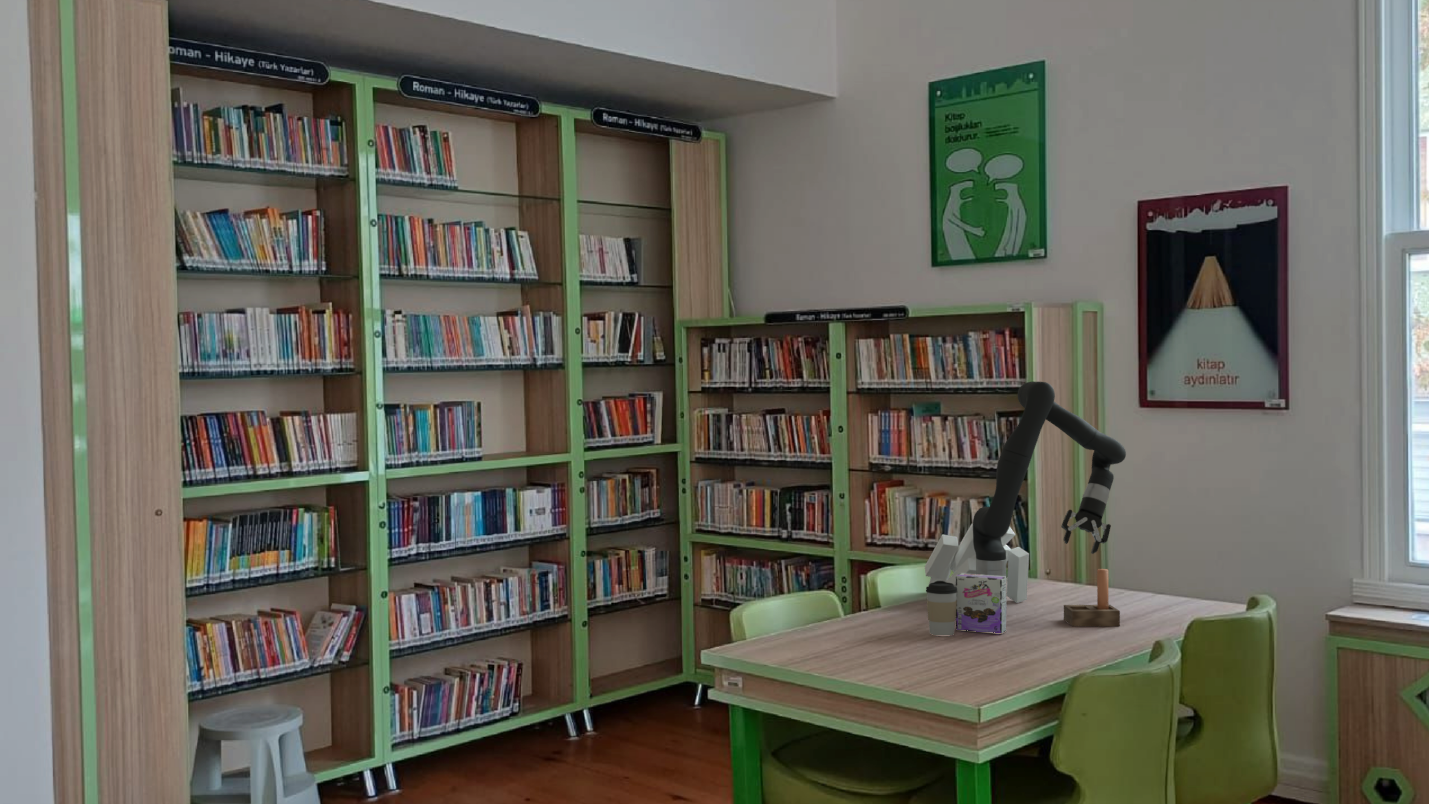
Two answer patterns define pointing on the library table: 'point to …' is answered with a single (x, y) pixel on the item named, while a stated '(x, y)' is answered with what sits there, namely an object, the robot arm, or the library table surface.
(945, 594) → the coffee cup
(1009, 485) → the robot arm
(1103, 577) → the peg
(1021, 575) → the pile of blocks
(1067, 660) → the library table surface
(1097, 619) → the hole block
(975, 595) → the candy box
